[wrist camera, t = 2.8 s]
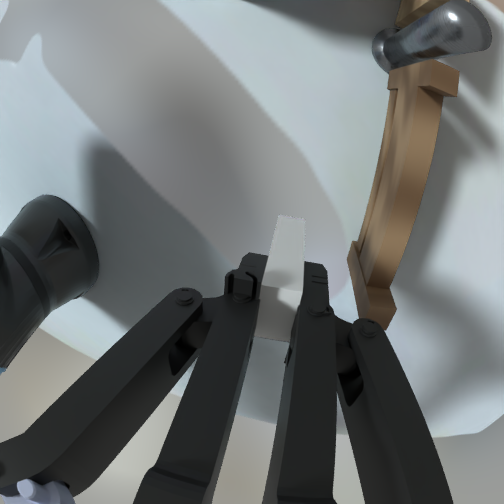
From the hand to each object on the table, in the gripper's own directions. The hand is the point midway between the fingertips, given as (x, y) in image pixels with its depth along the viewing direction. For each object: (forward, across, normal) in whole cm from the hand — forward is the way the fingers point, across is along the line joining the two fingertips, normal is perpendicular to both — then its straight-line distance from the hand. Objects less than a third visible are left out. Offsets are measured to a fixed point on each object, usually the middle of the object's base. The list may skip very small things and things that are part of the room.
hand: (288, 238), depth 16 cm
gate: (+9, +7, +3) cm, 11 cm away
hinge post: (+10, +7, +14) cm, 18 cm away
